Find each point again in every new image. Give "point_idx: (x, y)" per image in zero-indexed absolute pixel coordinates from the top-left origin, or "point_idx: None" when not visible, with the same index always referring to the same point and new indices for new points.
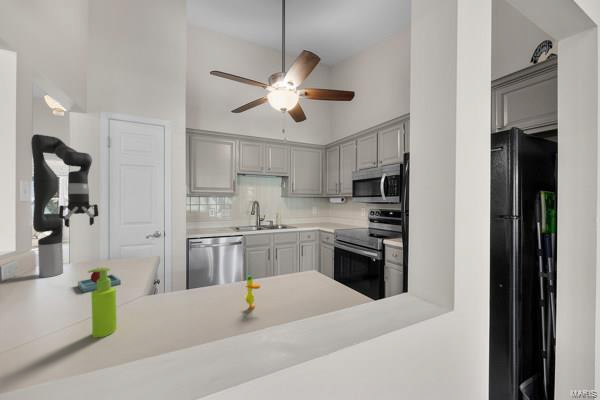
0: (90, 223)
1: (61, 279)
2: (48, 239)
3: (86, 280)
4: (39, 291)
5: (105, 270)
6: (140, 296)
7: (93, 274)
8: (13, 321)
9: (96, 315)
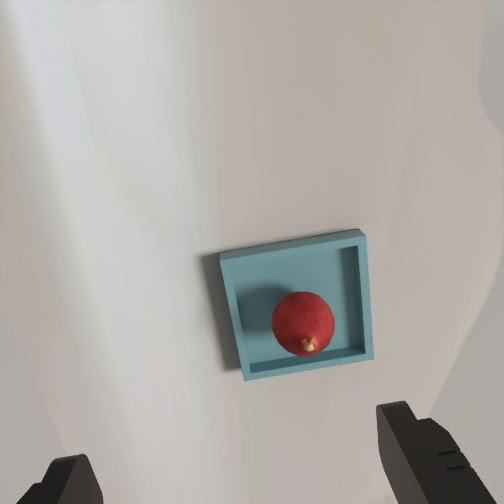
0: (392, 484)
1: (128, 35)
2: None
3: (253, 262)
4: (79, 224)
5: None
6: (386, 500)
7: (284, 348)
8: None
9: None
